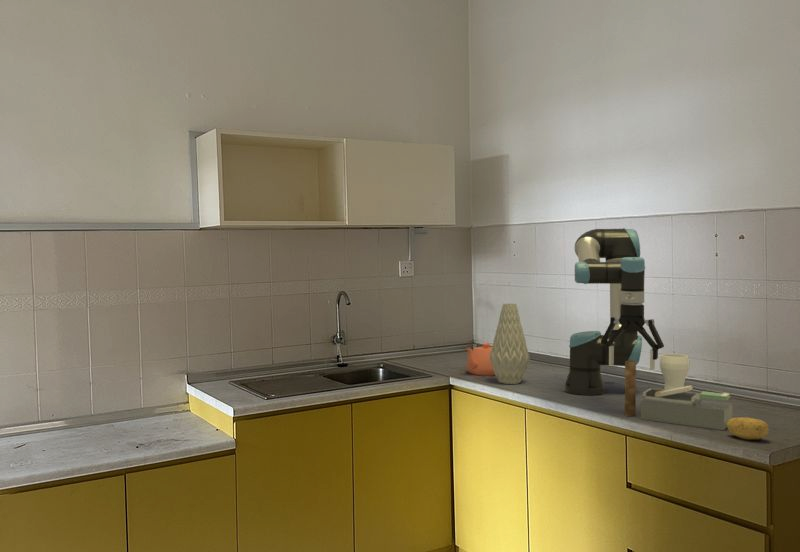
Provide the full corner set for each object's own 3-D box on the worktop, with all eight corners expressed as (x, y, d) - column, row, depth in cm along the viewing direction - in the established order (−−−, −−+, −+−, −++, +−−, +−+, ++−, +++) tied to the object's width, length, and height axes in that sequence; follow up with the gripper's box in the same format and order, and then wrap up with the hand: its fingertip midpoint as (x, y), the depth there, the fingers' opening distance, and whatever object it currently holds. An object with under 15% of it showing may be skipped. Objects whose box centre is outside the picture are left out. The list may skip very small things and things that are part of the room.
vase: (509, 377, 308) (509, 301, 307) (537, 383, 294) (538, 304, 293) (480, 381, 298) (480, 303, 297) (508, 387, 284) (509, 305, 283)
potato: (761, 444, 200) (762, 422, 200) (722, 437, 209) (722, 415, 208) (771, 440, 205) (772, 419, 204) (732, 433, 213) (733, 412, 213)
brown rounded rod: (623, 415, 236) (623, 361, 235) (626, 413, 239) (627, 360, 238) (633, 416, 234) (634, 362, 233) (636, 415, 237) (637, 361, 236)
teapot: (479, 379, 304) (479, 347, 304) (451, 373, 317) (451, 344, 316) (517, 372, 320) (517, 343, 320) (490, 368, 333) (490, 339, 332)
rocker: (655, 397, 232) (654, 393, 232) (659, 395, 236) (658, 391, 236) (689, 391, 226) (688, 386, 226) (692, 388, 229) (691, 384, 230)
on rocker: (699, 397, 224) (699, 393, 224) (703, 395, 228) (703, 390, 228) (726, 400, 219) (726, 396, 219) (730, 398, 223) (730, 393, 223)
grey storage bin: (640, 419, 231) (641, 393, 230) (652, 411, 241) (652, 387, 241) (723, 430, 216) (724, 402, 216) (732, 422, 227) (732, 395, 227)
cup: (654, 392, 275) (655, 353, 275) (680, 391, 276) (681, 353, 276) (667, 397, 265) (667, 357, 264) (694, 397, 265) (695, 357, 265)
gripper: (591, 302, 240) (591, 365, 241) (668, 306, 225) (666, 372, 227) (599, 300, 246) (598, 361, 247) (674, 304, 231) (673, 369, 233)
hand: (631, 367), depth 237 cm, fingers open, 13 cm apart
